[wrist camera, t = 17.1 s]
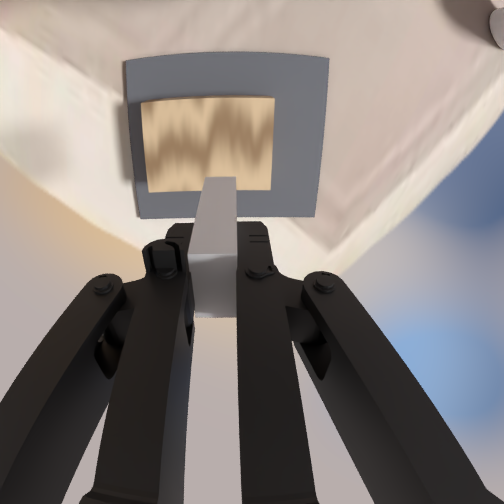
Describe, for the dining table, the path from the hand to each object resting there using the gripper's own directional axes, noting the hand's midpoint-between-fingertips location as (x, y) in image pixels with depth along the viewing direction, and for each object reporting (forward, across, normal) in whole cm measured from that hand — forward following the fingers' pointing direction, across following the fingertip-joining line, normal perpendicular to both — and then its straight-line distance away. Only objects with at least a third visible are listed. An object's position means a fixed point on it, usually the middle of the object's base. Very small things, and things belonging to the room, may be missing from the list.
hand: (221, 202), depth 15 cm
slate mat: (+17, 0, -1) cm, 17 cm away
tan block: (+15, +4, -1) cm, 16 cm away
